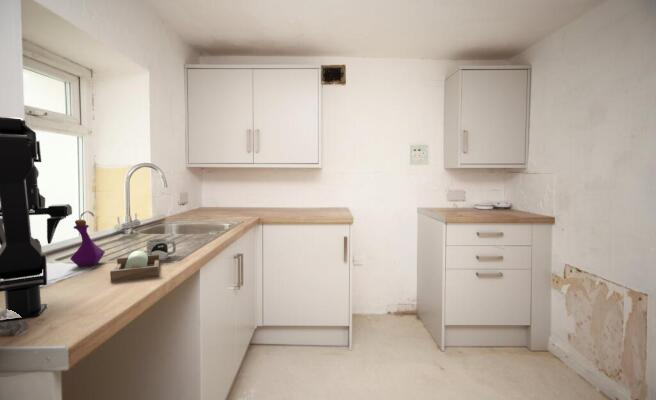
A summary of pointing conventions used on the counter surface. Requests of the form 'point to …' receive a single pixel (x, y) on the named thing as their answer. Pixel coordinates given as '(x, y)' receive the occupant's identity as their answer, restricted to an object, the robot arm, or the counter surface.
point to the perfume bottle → (86, 246)
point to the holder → (135, 269)
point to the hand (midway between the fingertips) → (27, 244)
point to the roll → (137, 260)
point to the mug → (160, 248)
